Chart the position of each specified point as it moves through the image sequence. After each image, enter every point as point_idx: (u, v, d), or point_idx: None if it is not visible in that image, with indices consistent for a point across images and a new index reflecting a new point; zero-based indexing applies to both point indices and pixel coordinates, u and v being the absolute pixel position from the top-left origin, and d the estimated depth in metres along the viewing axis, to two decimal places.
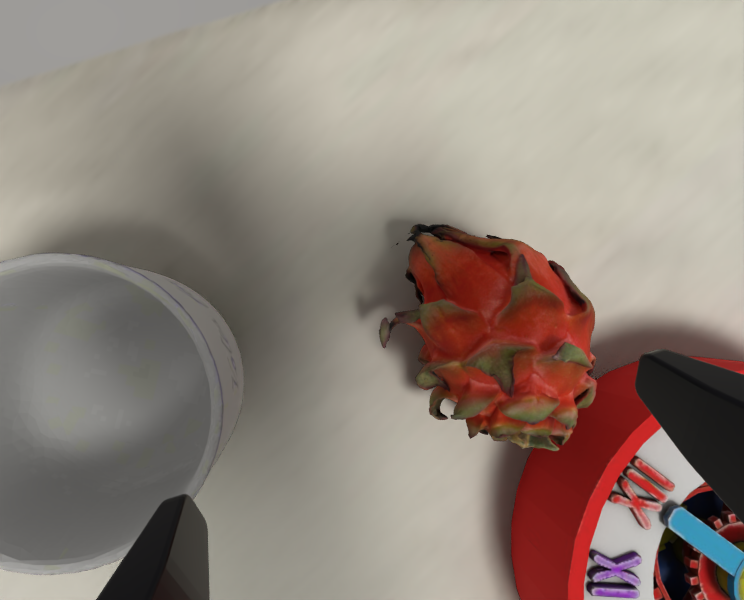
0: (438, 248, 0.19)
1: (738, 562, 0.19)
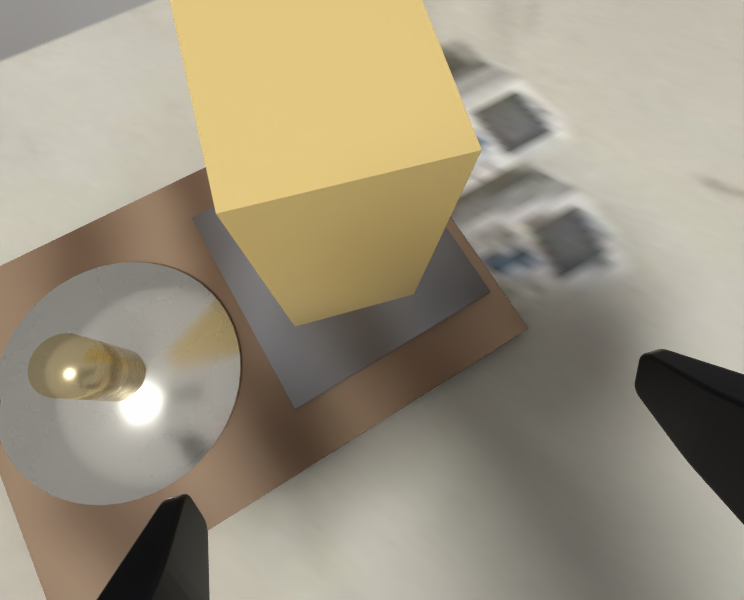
0: None
1: None
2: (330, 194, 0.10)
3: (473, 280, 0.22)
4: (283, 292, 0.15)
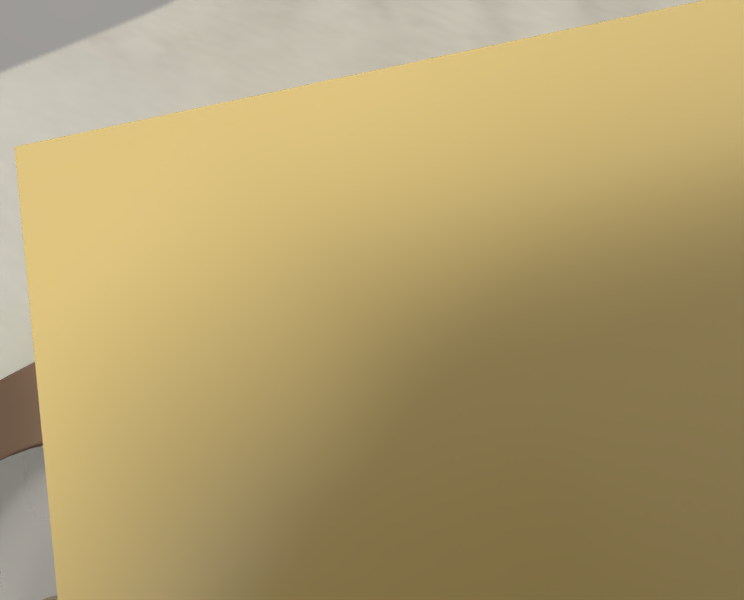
0: None
1: None
2: None
3: None
4: None
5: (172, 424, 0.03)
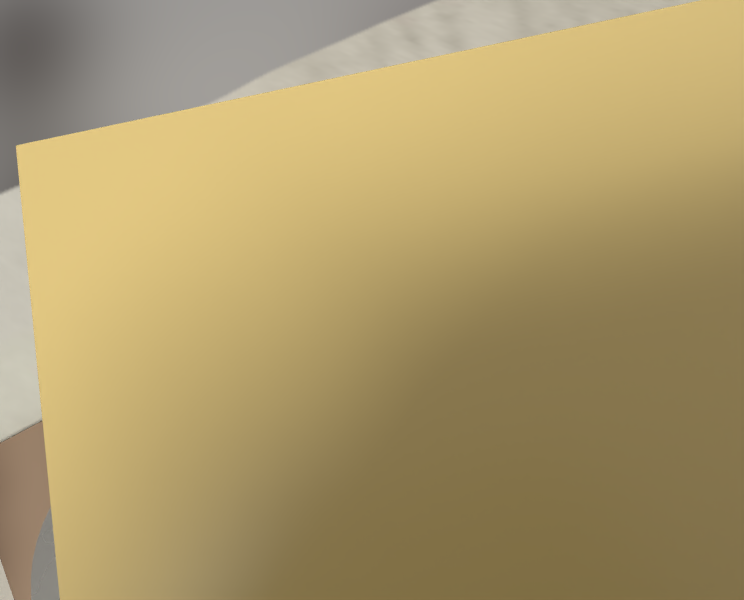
0: None
1: None
2: None
3: None
4: None
5: (174, 423, 0.03)
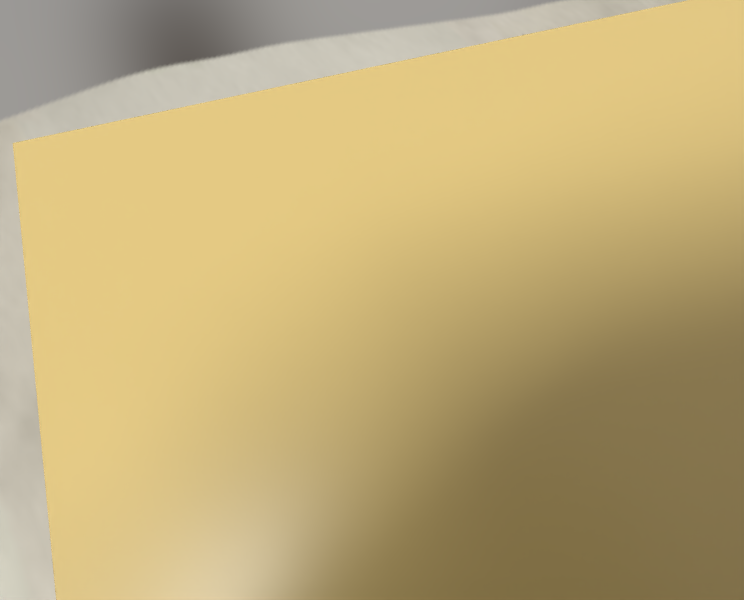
0: None
1: None
2: None
3: None
4: None
5: (171, 421, 0.03)
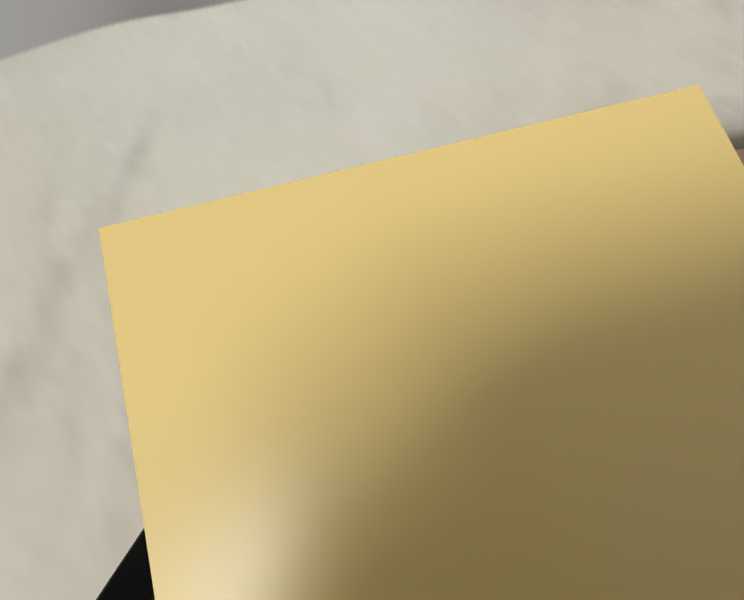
0: None
1: None
2: None
3: None
4: None
5: (229, 445, 0.03)
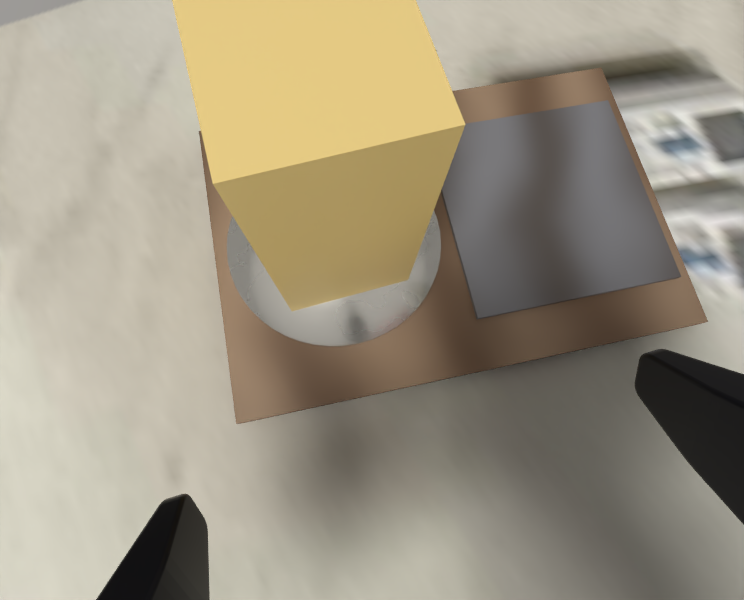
0: None
1: None
2: (321, 166, 0.10)
3: (667, 261, 0.23)
4: (279, 272, 0.16)
5: (212, 39, 0.11)
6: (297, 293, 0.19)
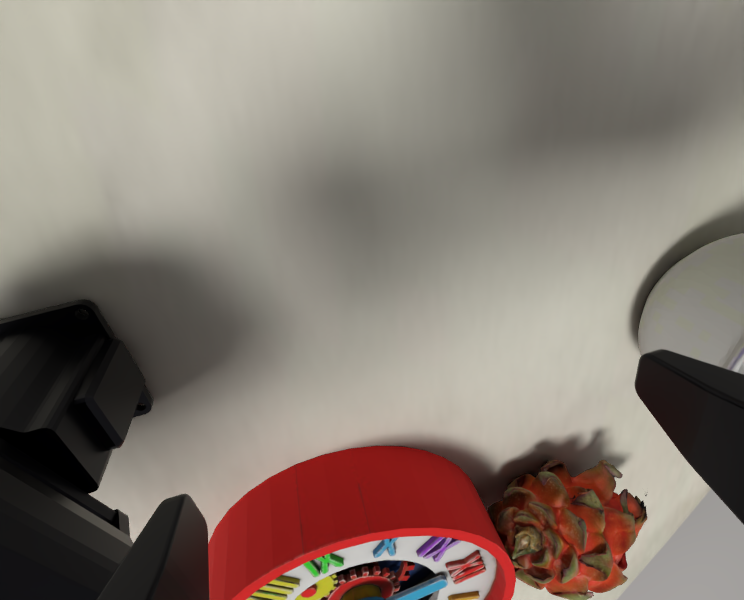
0: (640, 526, 0.29)
1: None
2: None
3: None
4: None
5: None
6: None
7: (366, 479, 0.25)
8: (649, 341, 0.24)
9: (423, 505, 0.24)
